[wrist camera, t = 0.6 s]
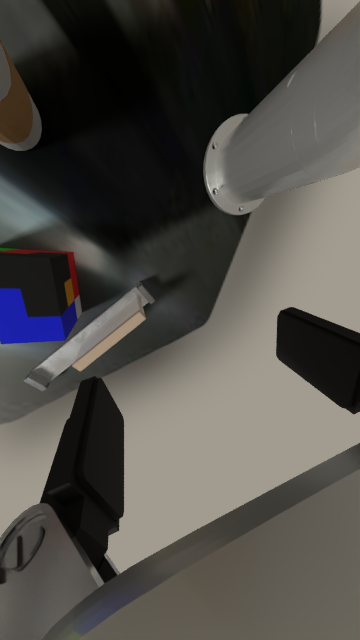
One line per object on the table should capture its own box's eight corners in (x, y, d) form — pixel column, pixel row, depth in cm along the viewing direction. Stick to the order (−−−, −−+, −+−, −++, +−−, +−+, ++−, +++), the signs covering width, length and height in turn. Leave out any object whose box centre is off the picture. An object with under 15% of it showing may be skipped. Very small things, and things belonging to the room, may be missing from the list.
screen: (136, 295, 32) (139, 311, 24) (141, 301, 32) (146, 318, 25) (84, 337, 32) (72, 365, 25) (90, 342, 33) (80, 371, 26)
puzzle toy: (81, 312, 32) (65, 340, 23) (13, 313, 29) (-36, 346, 20) (73, 252, 28) (49, 258, 19) (-7, 247, 25) (-78, 251, 16)
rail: (140, 281, 32) (141, 284, 30) (153, 296, 34) (155, 301, 31) (31, 369, 33) (23, 381, 31) (49, 379, 35) (42, 391, 32)
